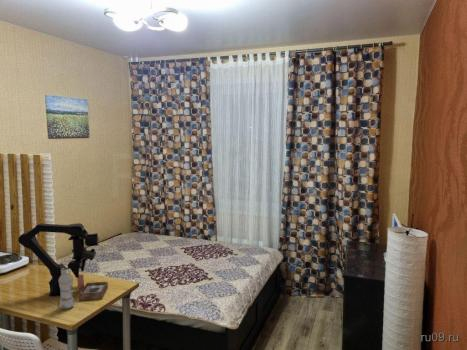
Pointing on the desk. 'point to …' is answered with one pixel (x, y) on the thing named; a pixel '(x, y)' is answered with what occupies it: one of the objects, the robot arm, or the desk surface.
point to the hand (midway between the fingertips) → (80, 274)
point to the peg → (80, 282)
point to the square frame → (93, 291)
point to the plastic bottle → (66, 289)
